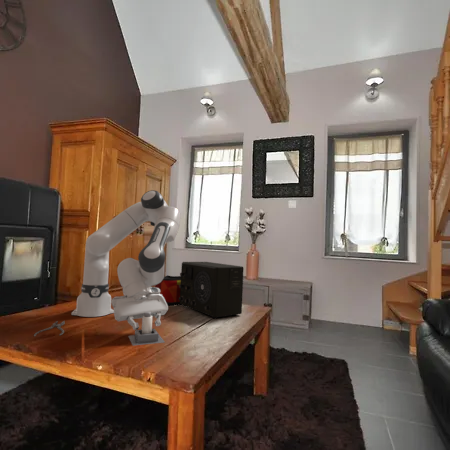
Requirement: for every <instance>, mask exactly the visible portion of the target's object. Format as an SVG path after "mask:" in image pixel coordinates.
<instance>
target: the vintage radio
mask: <svg viewBox="0 0 450 450" xmlns="http://www.w3.org/2000/svg"><path fill="white" fill-rule="evenodd" d="M179 276H181V285H179V287H180V297H179V301H180V304H181V305H180V306H182V307H183V308H188V309H191V310H194V311H198V312H200V313H202V314H204V315H206V316H207V315H208V316H210V317H211V318H212V319H217V318H222V317H228V316H232V315H236V316H237V315H241V314H243V312H242V311H243V289H244V288H243V287H244V266H241V265H233V264H226V263H220V262H219V263H217V262H212V261H211V262H210V261H182V262H181V271H180V272H179Z"/></svg>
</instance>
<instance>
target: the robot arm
mask: <svg viewBox="0 0 450 450" xmlns="http://www.w3.org/2000/svg"><path fill="white" fill-rule="evenodd" d="M146 222H150V225H151V226H152V227H153V231H152V234H151V236H150V239H149V241H148V242H147V244H146V245H145V246H144V247H143V248H142V249H141V250H140V252H139V253H138V257H137V258H138V259H134V258H132V257H127V258H124V259H123V260H121V261H120V263H119V264H118V266H117V271H116V272H117V277H118V281H119V285H120V286H121V287H122V293H123V295H121V296H118V295H117V296H114V297H112V296H111V294H109V288H110V287H109V285H110V284H109V274H110V273H109V272H110V271H109V269H110V265H109V264H110V251H111V250H112V249H114V248H115V247H116V246H117V245H118V244H120V243H121V242H122V241H123V240H124V239H125V238H127V237H128V236H130V235H131V234H132V233H133V232H134V231H136V230H137V229H138V228H139V227H141V226H142V225H144V224H145V223H146ZM180 224H181V213H180V210H179V209H178V208H176V207H175V206H172V205H169V204H168V203H167V201H165V198H164V197H163V195H162V194H161V193H160V192H159V191H158V190H155V189H154V190H153V189H151V190H148V191H147V192H146V191H145V192H144V194H143V195H142V196H141V197H140V201H138V202H136V203H134V204H132V205H130V206H129V207H127V208H126V209H124V210H123V211H121V212H119V214H117V215H116V216H114V217H113V218H112V219H111V220H109V221H108V222H106V223H105V224H104V225H102V226H101V227H100V228H98V229H97V230H95V231H94V232H92V234H90V235H89V236H88V237H87V238H86V241H85V247H84V248H85V250H84V251H85V252H84V264H83V278H82V284H81V288H80V289H81V293H80V294H79V295H78V296H77V298H76V305H75V307H76V308H75V309H74V310H73V311H72V312H71V316H79V317H86V318H96V317H102V316H106V315H109V314H113V315H114V320H116V321H117V322H122V321H127V323H128V324H129V326H131V327H132V329H133V331H135V330H139V328H140V325H139V322H136V321H135V320H138V319H142V317H143V316H144V313H145V312H151V316H153V317H154V318H155V319H156V320H155V321H154V325H155V327H159V326H161V325H162V321H161V317H162V316H164V315H166V313H167V312H168V310H169V306H168V305H167V303H166V301H165V299H164V297H163V296H162V295H161V294H160V289H159V288H156V287H155V285H157V284H159V283H160V282H162V280H163V279H164V277H165V264H166V263H165V262H166V253H165V245H166V244H167V243H171V242H173V241H174V240H175V238H176V237H177V236H178V233H179V232H178V231H179V228H180Z"/></svg>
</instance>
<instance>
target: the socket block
mask: <svg viewBox="0 0 450 450" xmlns="http://www.w3.org/2000/svg"><path fill="white" fill-rule="evenodd" d="M128 338H129V341H130V343H131V345H132V346H143V345H153V344H154V345H155V344H164V343H166V341H165V340H164V339H163V338H162V337H161V335H160V334H159V332H158V331H157V330H156V329H155V328H152V334H142V328H140V329H137V330H134V334H132V335H128Z"/></svg>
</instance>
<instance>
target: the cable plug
mask: <svg viewBox="0 0 450 450" xmlns="http://www.w3.org/2000/svg"><path fill="white" fill-rule="evenodd" d="M153 317H154V316H151V312H145V313H144V316H143V317H142V318H141V319H142V320H141V329H142V334H152V329H153Z"/></svg>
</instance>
